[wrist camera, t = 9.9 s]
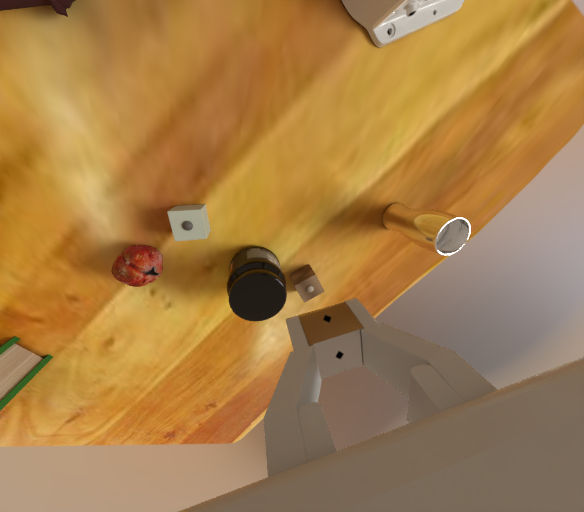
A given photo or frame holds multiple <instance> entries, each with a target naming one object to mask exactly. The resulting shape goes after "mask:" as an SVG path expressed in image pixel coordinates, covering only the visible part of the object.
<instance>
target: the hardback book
mask: <svg viewBox="0 0 584 512" xmlns="http://www.w3.org/2000/svg"><path fill="white" fill-rule="evenodd" d="M19 340H20V338H18V337H16V336H15V337H14V338H12V339H10V340H9V341H7V342H6V343H4V344H3V345H1V346H0V411H1V410H2V409H3V408H4V407H5V406H6V405H7V403H8V402H9V401H10V400H11V399H12V398H13V397H14V396H15V395H16V394H17V393H18V392H19V391H20V390H21V389H22V388H23V387H24V386H25V385H26V384H27V383H28V382H29V381H30V380H31V379H32V378H33V377H34V376H35V375H36V374H37V373H38V372H39V371H40V370H41V369H42V368H43V367H44V366H45V365H46V364H47V363H48V362H49V361H50V360H51V359H52V358H53V356H51V355H47V356H46V357H44V358H41V357H39V356H37V355H36V354H34V353H32V352H30V351H28V350H26V349H24V348H22V347H21V346H19V345H17V344H15V343H16V342H17V341H19Z"/></svg>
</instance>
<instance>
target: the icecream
mask: <svg viewBox="0 0 584 512" xmlns="http://www.w3.org/2000/svg"><path fill="white" fill-rule="evenodd" d="M73 1H75V0H0V11H1V10H10V9H19V8H28V7H37V6H46V5H52V7H53V8H54V10H55V11H56V12H57V13H59V14H61V15H65V16H67V12H66V9H67V8H70V6H71V4H72V2H73ZM67 17H68V16H67Z"/></svg>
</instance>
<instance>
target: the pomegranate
mask: <svg viewBox="0 0 584 512" xmlns="http://www.w3.org/2000/svg"><path fill="white" fill-rule="evenodd" d="M162 263H163V257H162V255H161V253H160V252H159V251H158V250H157V249H156V248H154V247H151V246H147V245H138V246H136V245H132V246H129V247H128V248H126V249H125V251H124V252H123V253H121V254H120V255H119V256H118V258H117V259H116V261H115V262H114V264H113V266H112V274H113V276H114V277H115V278H116V279H117V280H119V281H120V282H122V283H125V284H127V285H129V286H134V287H141V286H144V285H146V284H148V283H151V282H153V281H155V280H156V279H157V278H158V277H159V276H160V275H161V273H162V270H163V267H162Z"/></svg>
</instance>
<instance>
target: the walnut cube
mask: <svg viewBox="0 0 584 512" xmlns="http://www.w3.org/2000/svg"><path fill="white" fill-rule="evenodd" d="M290 277H291V279H292V282H293V284H294V286H295V288H296V290H297V291H298V293H299V295H300V296H301V298H302V299H303V301H304V303H305V302H306V301H308V300H310V299H312V298H314V297H315V296H317V295H319V294H321V293H323V292H324V290H323V288H322V286H321V284H320V282H319V280H318V278H317V276H316V274H315V273H314V271H313V270H312V268H311V267H310V265H309V264H308V265H307V266H305V267H303V268H301V269H299V270H298V271H296V272H294V273H292V274H290Z"/></svg>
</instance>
